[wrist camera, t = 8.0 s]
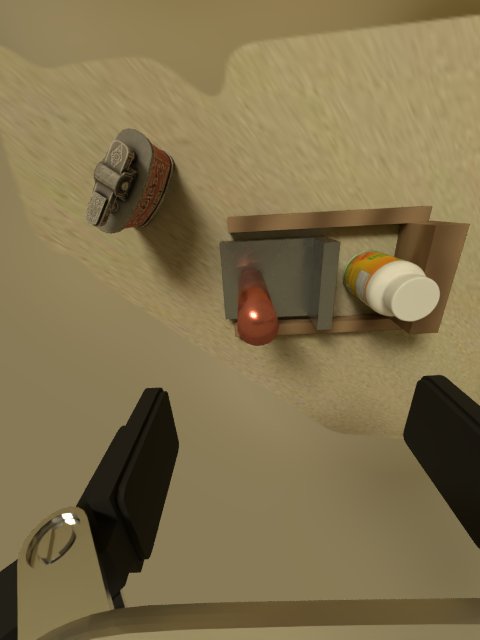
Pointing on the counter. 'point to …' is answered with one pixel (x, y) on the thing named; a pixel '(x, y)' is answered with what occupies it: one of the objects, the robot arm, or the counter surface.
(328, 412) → the counter surface
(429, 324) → the bench clamp
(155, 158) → the lighter
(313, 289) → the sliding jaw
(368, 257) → the supplement bottle
